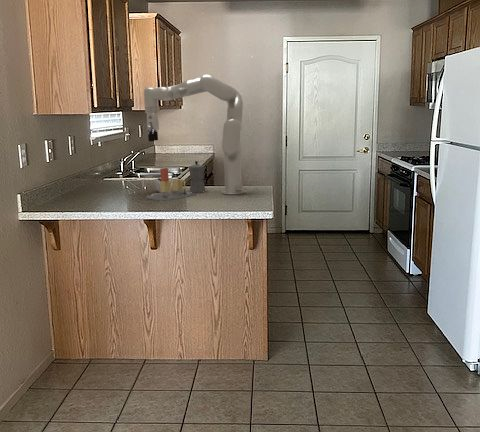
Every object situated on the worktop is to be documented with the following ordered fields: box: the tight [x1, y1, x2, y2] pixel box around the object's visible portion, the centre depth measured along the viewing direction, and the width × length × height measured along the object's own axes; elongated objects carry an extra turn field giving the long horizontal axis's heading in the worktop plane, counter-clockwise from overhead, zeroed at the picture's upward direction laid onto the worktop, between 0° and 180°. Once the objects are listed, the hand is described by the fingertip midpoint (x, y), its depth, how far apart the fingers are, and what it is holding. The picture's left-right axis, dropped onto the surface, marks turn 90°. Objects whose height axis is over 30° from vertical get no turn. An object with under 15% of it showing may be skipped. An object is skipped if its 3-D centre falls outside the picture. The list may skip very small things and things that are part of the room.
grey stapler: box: [153, 177, 171, 193], centre depth 321 cm, size 17×5×10 cm, turn 22°
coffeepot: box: [188, 160, 206, 194], centre depth 321 cm, size 15×9×18 cm, turn 176°
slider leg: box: [159, 167, 174, 195], centre depth 302 cm, size 8×4×14 cm, turn 45°
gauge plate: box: [145, 178, 197, 202], centre depth 305 cm, size 14×24×9 cm, turn 135°
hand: (153, 140), depth 310 cm, fingers open, 9 cm apart
